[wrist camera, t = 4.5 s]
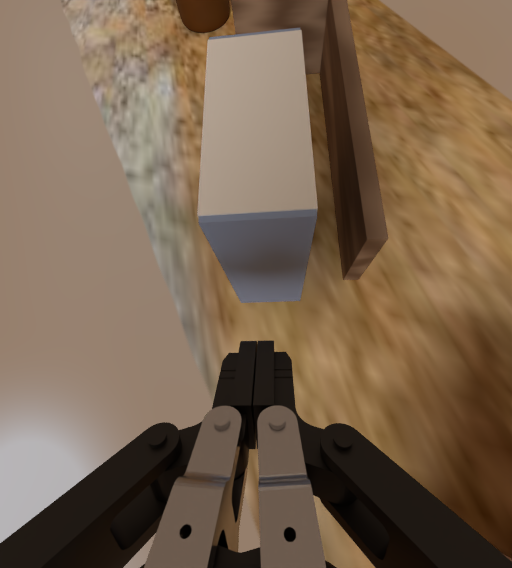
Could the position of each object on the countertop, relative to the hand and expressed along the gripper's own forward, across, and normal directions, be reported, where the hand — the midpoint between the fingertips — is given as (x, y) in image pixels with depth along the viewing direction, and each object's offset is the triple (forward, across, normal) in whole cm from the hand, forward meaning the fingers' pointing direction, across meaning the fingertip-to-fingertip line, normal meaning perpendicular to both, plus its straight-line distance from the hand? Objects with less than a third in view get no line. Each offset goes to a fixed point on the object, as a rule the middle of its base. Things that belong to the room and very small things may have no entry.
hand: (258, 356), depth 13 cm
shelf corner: (+28, -3, -7) cm, 29 cm away
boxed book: (+20, 0, +1) cm, 21 cm away
